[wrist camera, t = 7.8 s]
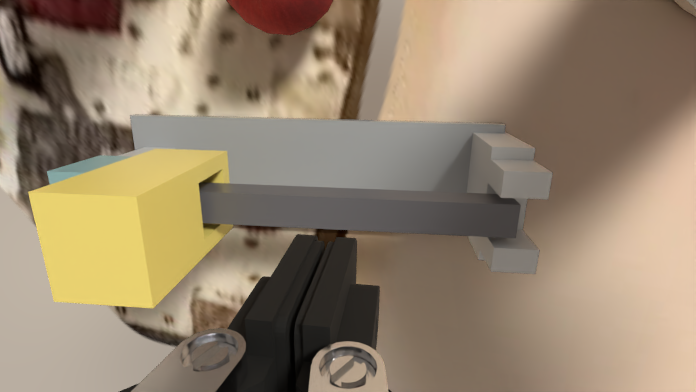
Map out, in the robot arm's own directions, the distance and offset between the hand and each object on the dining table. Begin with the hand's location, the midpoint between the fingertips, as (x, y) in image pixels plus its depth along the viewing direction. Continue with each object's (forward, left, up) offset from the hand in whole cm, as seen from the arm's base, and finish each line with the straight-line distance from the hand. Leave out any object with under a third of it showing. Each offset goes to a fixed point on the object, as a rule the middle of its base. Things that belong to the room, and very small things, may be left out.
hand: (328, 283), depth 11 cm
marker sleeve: (+9, +1, -11) cm, 14 cm away
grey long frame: (+3, +1, -15) cm, 15 cm away
